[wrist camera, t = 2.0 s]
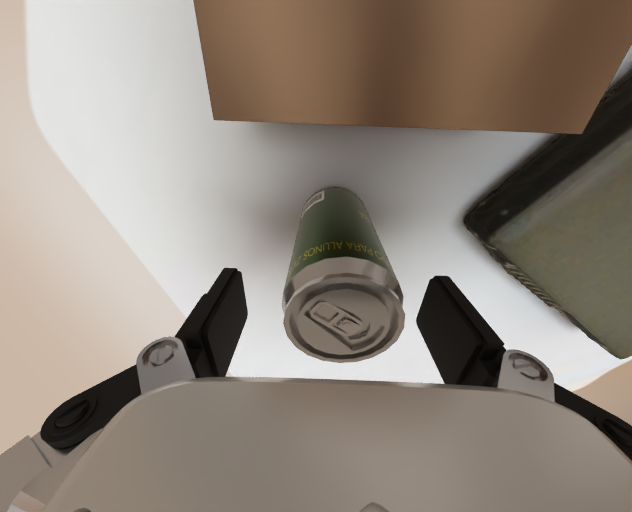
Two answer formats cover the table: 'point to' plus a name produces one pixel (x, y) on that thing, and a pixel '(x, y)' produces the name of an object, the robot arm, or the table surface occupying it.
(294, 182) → the table surface
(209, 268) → the table surface
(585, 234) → the network switch
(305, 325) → the beer can
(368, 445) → the robot arm
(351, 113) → the wooden block
